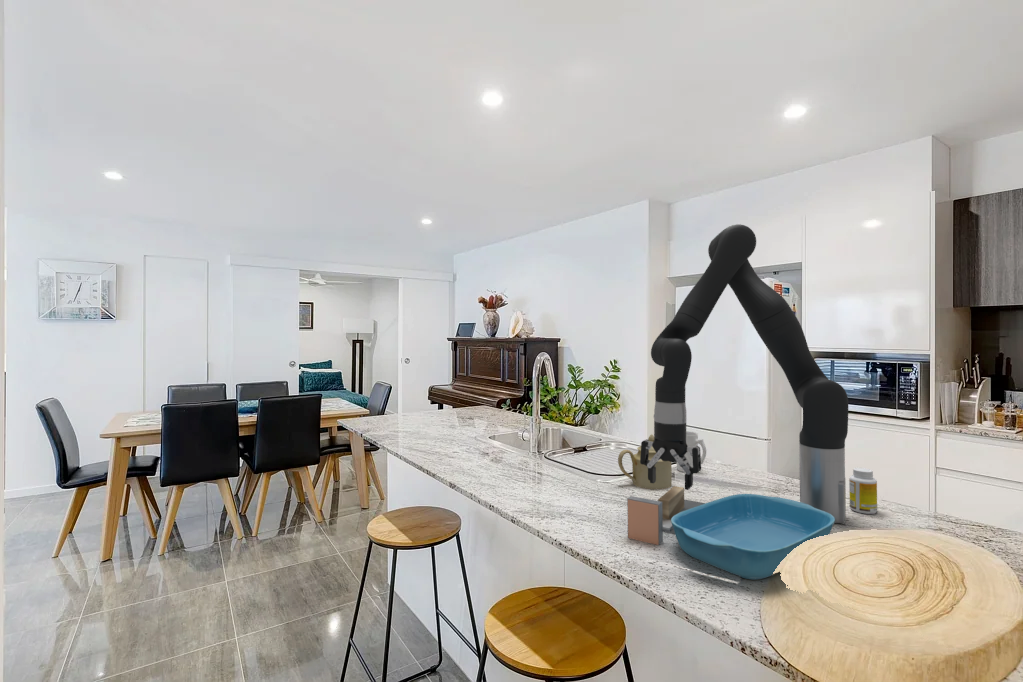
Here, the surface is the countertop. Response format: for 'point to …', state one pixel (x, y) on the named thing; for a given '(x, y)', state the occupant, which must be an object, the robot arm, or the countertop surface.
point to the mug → (693, 442)
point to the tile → (645, 520)
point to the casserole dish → (748, 532)
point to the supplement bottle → (863, 491)
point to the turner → (671, 505)
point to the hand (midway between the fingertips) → (669, 485)
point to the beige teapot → (642, 470)
